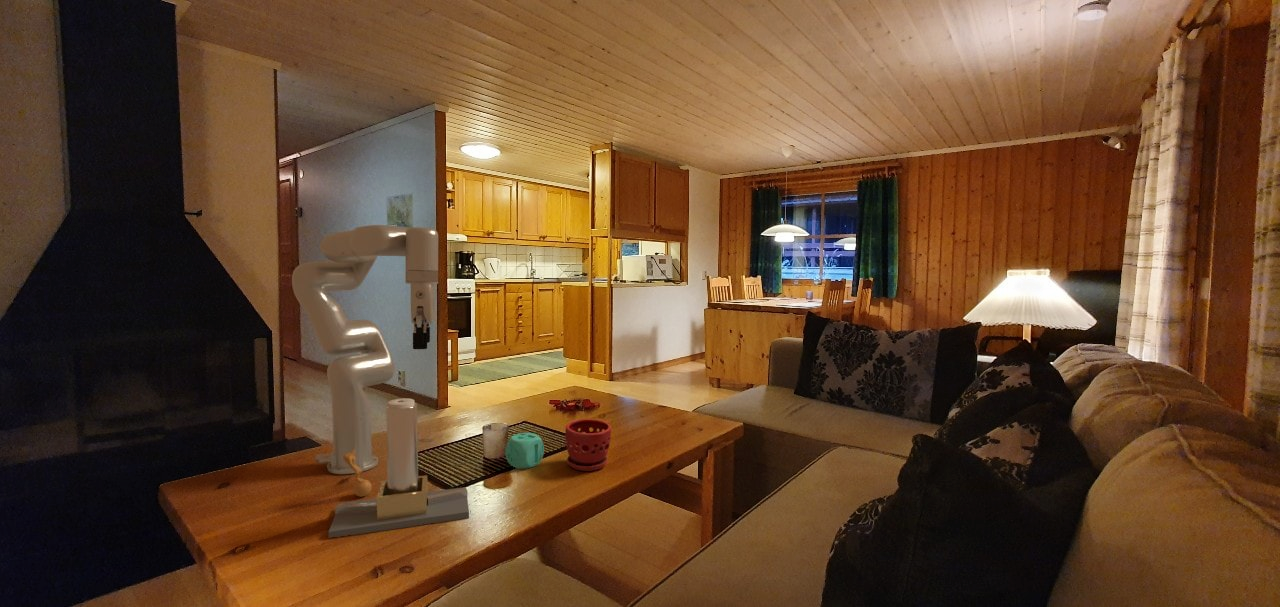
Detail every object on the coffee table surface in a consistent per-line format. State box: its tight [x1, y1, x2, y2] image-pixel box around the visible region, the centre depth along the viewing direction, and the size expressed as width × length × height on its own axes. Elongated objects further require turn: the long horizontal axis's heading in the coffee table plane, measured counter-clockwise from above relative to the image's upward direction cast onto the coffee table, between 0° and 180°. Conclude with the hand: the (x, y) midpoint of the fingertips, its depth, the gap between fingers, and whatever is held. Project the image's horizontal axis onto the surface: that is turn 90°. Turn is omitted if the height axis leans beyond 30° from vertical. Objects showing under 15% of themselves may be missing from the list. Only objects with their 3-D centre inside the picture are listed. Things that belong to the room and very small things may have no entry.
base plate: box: [328, 486, 470, 539], centre depth 122 cm, size 28×14×2 cm, turn 111°
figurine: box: [343, 450, 373, 498], centre depth 130 cm, size 8×6×12 cm
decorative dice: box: [504, 432, 545, 470], centre depth 153 cm, size 8×8×8 cm
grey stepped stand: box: [334, 475, 468, 521], centre depth 122 cm, size 28×10×5 cm, turn 111°
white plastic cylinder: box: [385, 397, 419, 495], centre depth 121 cm, size 6×6×25 cm
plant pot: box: [565, 418, 612, 472], centre depth 153 cm, size 13×13×12 cm
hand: (421, 345), depth 133 cm, fingers open, 9 cm apart
